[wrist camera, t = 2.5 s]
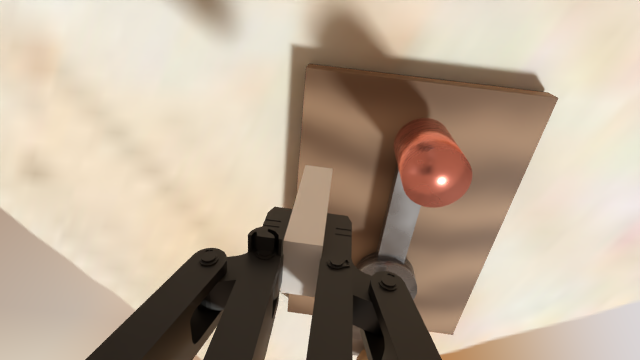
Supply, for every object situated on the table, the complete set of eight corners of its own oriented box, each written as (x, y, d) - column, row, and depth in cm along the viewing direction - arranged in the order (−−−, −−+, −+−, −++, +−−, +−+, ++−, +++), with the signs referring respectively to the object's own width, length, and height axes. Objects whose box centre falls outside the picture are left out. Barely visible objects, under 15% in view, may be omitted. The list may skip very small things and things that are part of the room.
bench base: (308, 63, 26) (287, 98, 18) (547, 92, 26) (640, 142, 17) (289, 300, 39) (272, 385, 31) (449, 323, 38) (474, 414, 30)
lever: (386, 106, 25) (396, 142, 19) (463, 116, 25) (496, 154, 19) (348, 296, 35) (347, 358, 29) (403, 304, 35) (413, 367, 29)
